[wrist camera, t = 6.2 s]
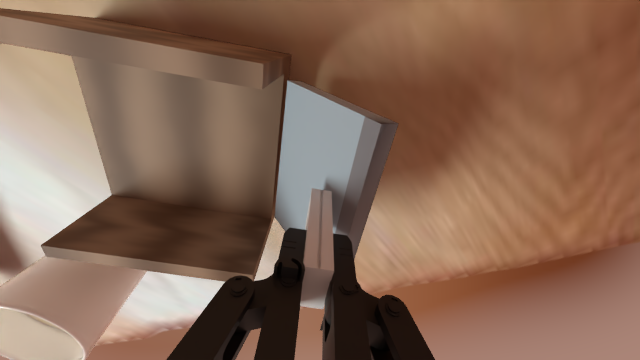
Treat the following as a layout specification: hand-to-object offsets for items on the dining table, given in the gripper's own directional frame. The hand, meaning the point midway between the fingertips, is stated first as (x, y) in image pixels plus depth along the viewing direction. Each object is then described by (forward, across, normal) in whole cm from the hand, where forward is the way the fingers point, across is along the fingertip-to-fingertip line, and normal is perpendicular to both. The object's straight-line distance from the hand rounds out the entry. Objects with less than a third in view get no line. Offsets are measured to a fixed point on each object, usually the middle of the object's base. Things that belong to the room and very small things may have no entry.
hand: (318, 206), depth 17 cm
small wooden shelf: (+9, -12, 0) cm, 15 cm away
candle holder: (+10, -23, -17) cm, 30 cm away
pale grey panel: (+6, -4, 0) cm, 7 cm away
